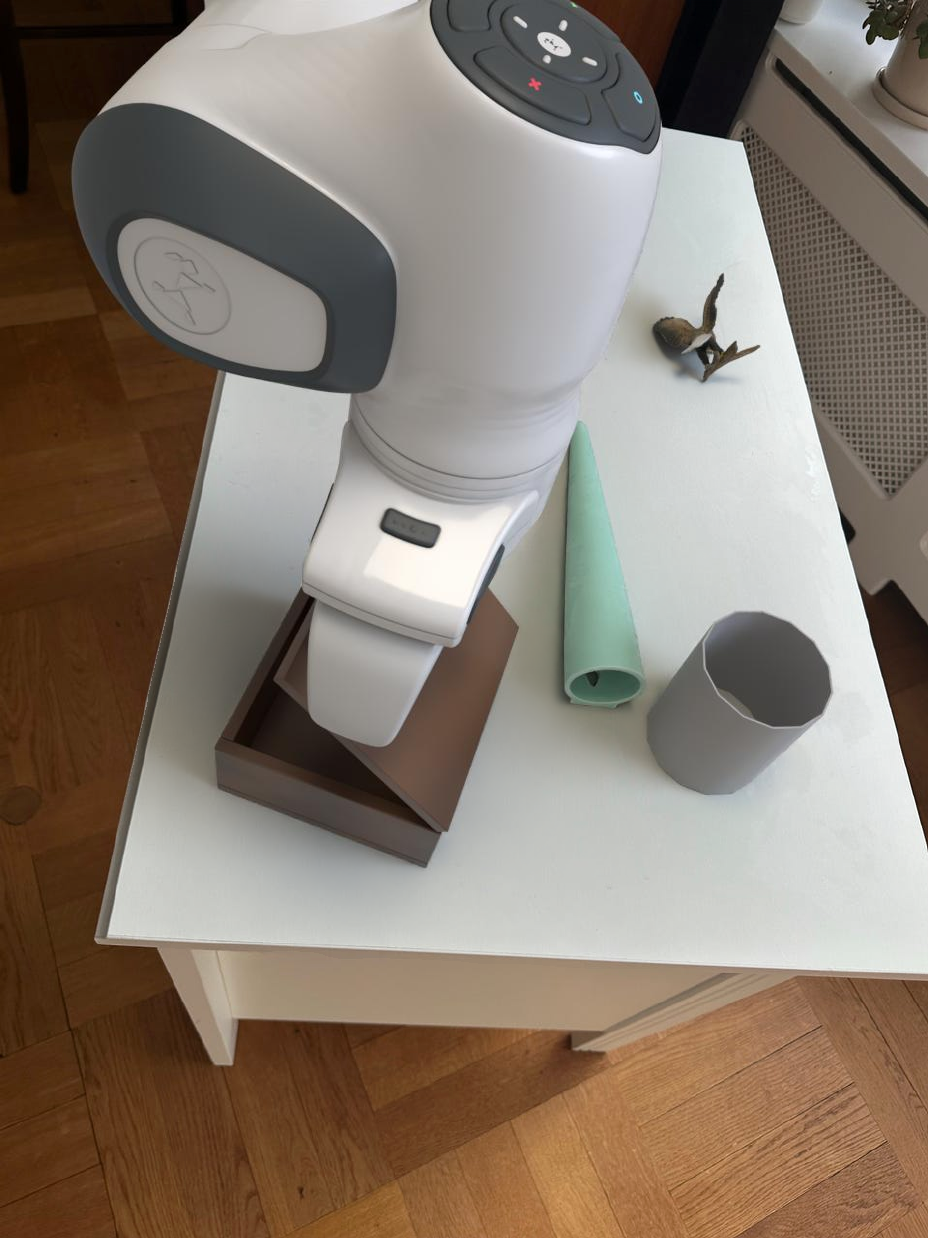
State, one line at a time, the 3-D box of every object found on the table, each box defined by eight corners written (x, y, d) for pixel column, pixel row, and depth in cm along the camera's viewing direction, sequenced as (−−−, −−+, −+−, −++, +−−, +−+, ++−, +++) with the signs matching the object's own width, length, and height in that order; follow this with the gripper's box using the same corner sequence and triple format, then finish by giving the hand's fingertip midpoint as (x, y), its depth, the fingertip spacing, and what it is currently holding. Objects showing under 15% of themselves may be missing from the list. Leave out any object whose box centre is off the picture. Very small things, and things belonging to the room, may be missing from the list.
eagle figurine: (761, 368, 87) (725, 290, 90) (760, 329, 80) (721, 247, 83) (683, 402, 89) (649, 325, 91) (675, 367, 82) (639, 285, 85)
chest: (217, 788, 57) (213, 748, 52) (312, 606, 65) (316, 557, 61) (426, 868, 57) (441, 835, 52) (494, 675, 65) (513, 631, 60)
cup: (734, 818, 62) (806, 755, 54) (627, 750, 64) (681, 679, 56) (777, 726, 67) (849, 655, 59) (676, 665, 68) (733, 587, 60)
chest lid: (272, 680, 44) (284, 678, 43) (382, 468, 52) (393, 465, 52) (436, 832, 52) (448, 832, 51) (509, 628, 60) (520, 627, 60)
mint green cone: (627, 385, 76) (657, 672, 61) (606, 433, 80) (630, 711, 65) (562, 375, 75) (577, 663, 60) (545, 423, 80) (555, 703, 65)
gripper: (459, 276, 45) (418, 471, 56) (281, 602, 33) (275, 764, 44) (584, 322, 44) (517, 508, 56) (449, 666, 33) (399, 812, 44)
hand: (409, 624), depth 50 cm, fingers closed
